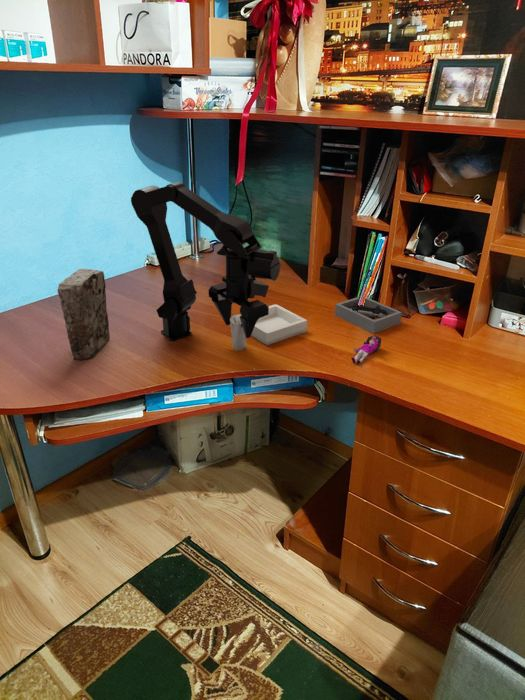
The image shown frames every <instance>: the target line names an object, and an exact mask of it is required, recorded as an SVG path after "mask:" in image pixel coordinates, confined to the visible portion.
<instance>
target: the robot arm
mask: <svg viewBox="0 0 525 700" xmlns="http://www.w3.org/2000/svg"><path fill="white" fill-rule="evenodd" d="M130 202H131V203H130V204H131V205H132V208H133V211H134V212H135V214H136V217H137V218H138V219H139V220H140V221H141V222H142V223H143V224H144V225H145V226H146V228H147V231H148V235H149V238H150V241H151V244H152V247H153V250H154V253H155V256H156V259H157V263H158V266H159V268H160V272H161V274H162V278H163V287H162V297H163V298H162V299H163V303H162V304H161V305H160V306H159V307H158V308H157V309H156V314H157V317H159V318H161V320H162V328H163V329H161V330H160V333H161V334H162V335H164V336H165V337H166V338H167V339H169V340H170V341H176V340H179V339H182V338H185V337H188V336H191V335H193V332H192V331H191V317H190V316H189V312H188V311H189V310H191V309H192V306H193V304H194V303H195V302H196V300H197V296H196V295H197V294H198V292H197V290H196V288H195V286H194V281H193V279H187V278H186V277H185V276H184V275H183V272H182V270H181V265H180V264H179V260H178V256H177V254H176V251H175V247H174V244H173V241H172V237H171V235H170V231H169V228H168V225H167V220H166V219H167V215H168V203H170V202H172V203H173V204H175V205H177V207H179V208H180V209H182V210H183V211H184V212H186V213H188V214H189V215H191V216H192V217H194V218H195V219H196V220H198V221H199V222H200V223H202V224H203V225H205V226H206V227H208V228H209V229H210V230H211V231H212V233H213V234H214V236H215V238H216V239H217V241H219V242H220V243H221V244H222V246H221V248H220V249H219V250H218V251H216V254H217V255H218V256H224V257H225V258H224V259H225V261H224V263H225V264H224V265H225V276H222V282H221V283H218V284H213V285H210V287H209V288H208V297H209V298H211V302H213V304H214V306H215V307H216V309H217V311H218V314H220V316H221V318H222V320H223V321H224V324H225V325H226V326H231V325H230V318H231V317H232V305H233V304H236V305H238V306H239V314H241V316H240V320H241V323H242V326H243V330H244V333H245V336H246V339H250V338H251V337H252V336H251V334H252V332H253V329H254V327H255V324H256V322H257V320H258V319H259V318H261V317H264V316H266V315H268V314H269V306H270V305H267V303H264V302H263V301H261V300H259V299H256V300H251V301H250V300H249V299H254V298H255V296H257V297H258V296H259V297H262V298H266V297H267V294H268V291H269V288H270V285H269V284H267V283H265V282H263V281H261V280H267V281H276V280H277V279H278V277H279V274H280V271H281V267H282V266H281V261H280V257H279V256H278V254H277V253H278V252H277V251H276V250H266V249H262V245H261V243H260V242H259V240H258V238H257V237H256V235H255V234H254V232H253V227H252V225H251V223H249V222H248V221H247V220H246V219H245V220H244V219H243V218H241V217H239V216H237V215H233V214H229V213H226V212H224V211H221V210H220V209H219V208H217V207H216V206H214V205H213V204H212V203H210V202H208V201H207V200H206V199H204V198H202V197H201V196H200V195H198V194H197V193H195V192H194V191H192V190H191V189H189V188H188V187H187V186H186V185H185V184H184V183H183V182H181V181H176V182H175V181H174V182H172V183H169V184H167V185H165V186H163V187H159V186H157V185H150V186H146V187H143V188H139V189H136V190H135V191H134V192H133V193H132V195H131V197H130ZM246 244H248V245H246ZM244 245H246V246H245V247H244ZM258 279H261V280H258Z"/></svg>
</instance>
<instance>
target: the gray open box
mask: <svg viewBox="0 0 525 700" xmlns="http://www.w3.org/2000/svg"><path fill="white" fill-rule="evenodd" d="M355 302H356V303H357V304H358V302H359V298H357V297H354V298H351V299H348V300H344V301H342V302H338V303H336V304H335V306H334V307H335V309H334V316H336V317H338V318H340V319H342V320H344V321H345V322H348V323H350V324H352V325H355V326H357V327H358V328H361V329H363V330H365V331H367V332H368V333H371V334H374V335H375V334H376V333H379V332H382V331H384V330H386V329H388V328H392V327H394V326H397V325H400V324H401V321H402V314H403V312H402V311H399V310H397V309H395V308H393V307H390V306H387V305H385V304H383V303H381V304H380V302H378V301H376V300H373V299H371V298H369V297H367V298H366V299H365V303H364V306H363V305H360V306H362V307H370V308H376V306H380V309H383V310H385V311H386V313H387V314H386V316H384V317H382V318H379V319H377V318H375V319H374V320H373V319H371V318H369V317H367V316H364V315H362V314H360V313H358V312H355V311H351V310H350V309H349V308H350V306H352V305H353V304H354V303H355Z"/></svg>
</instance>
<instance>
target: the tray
mask: <svg viewBox="0 0 525 700" xmlns="http://www.w3.org/2000/svg"><path fill="white" fill-rule="evenodd" d="M268 306H269V314H268V315H266V316H264V317H261V318H259V319H258V320H257V322H256V324H255V327H254V329H253V332H252V334H251V337H252V338H254V339H256V340H258V341H259V342H260V343H262V344H264V345H266V346H269V345H272V344H275V343H278V342H281V341H284V340H286V339H289V338H290V339H291V338H292V337H293V338H294V337H295V336H298V335H302V334H304V333H307V332H308V320H307V319H306V318H304V317H302V316H300V315H298V314H295V313H294V312H292V311H290V310H288V309H287V308H284V307H282V306H280V305H278V304H276V303H275V304H272V305H268Z"/></svg>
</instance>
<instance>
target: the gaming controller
mask: <svg viewBox="0 0 525 700" xmlns="http://www.w3.org/2000/svg"><path fill="white" fill-rule="evenodd" d="M349 309H350V310H351V311H355V312H358V313H360V314H362V315H364V316H367V317H369V318H371V319H373V320H376V319H379V318H382V317H384V316H386V314H387V313H386V311H385V310H383V309H380V306H376V308H370V307H362V306H359V305H358V304H357V303H356V302H355V303H354V304H353V305H352V306H350V308H349Z"/></svg>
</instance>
